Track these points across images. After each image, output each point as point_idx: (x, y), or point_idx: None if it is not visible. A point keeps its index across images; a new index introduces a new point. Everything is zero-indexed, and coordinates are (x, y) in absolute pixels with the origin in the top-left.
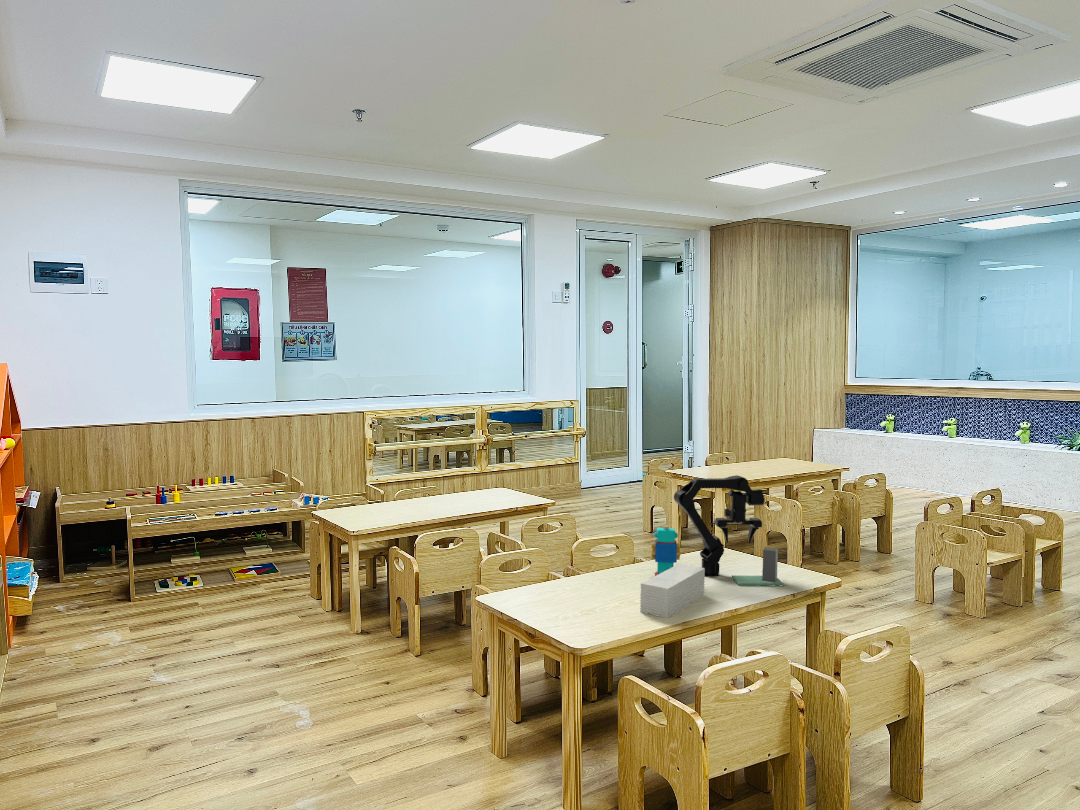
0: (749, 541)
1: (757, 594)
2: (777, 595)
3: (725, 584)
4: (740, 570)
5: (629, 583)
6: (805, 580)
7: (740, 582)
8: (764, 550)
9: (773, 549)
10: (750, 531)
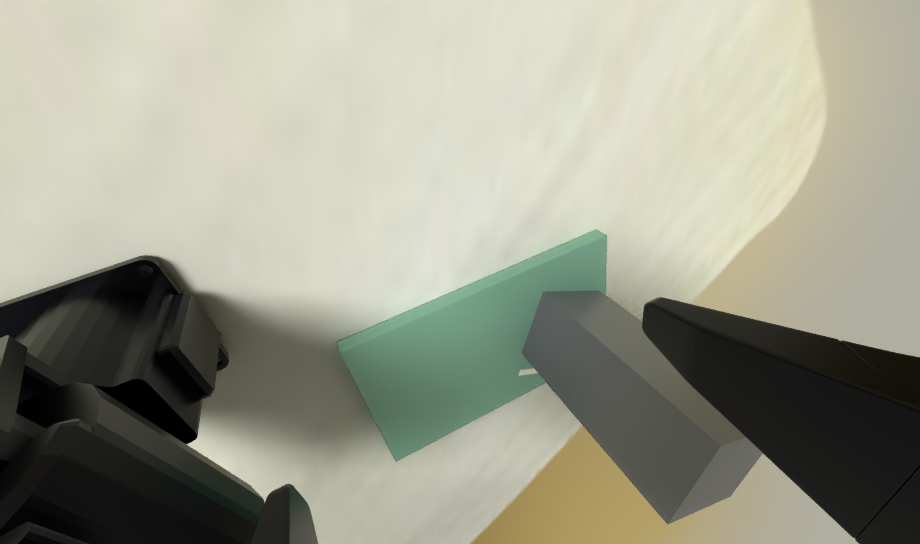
0: (669, 350)
1: (472, 491)
2: (542, 458)
3: (316, 469)
4: (389, 105)
5: None
6: (714, 211)
7: (405, 444)
8: (671, 517)
9: (740, 467)
10: (882, 509)
